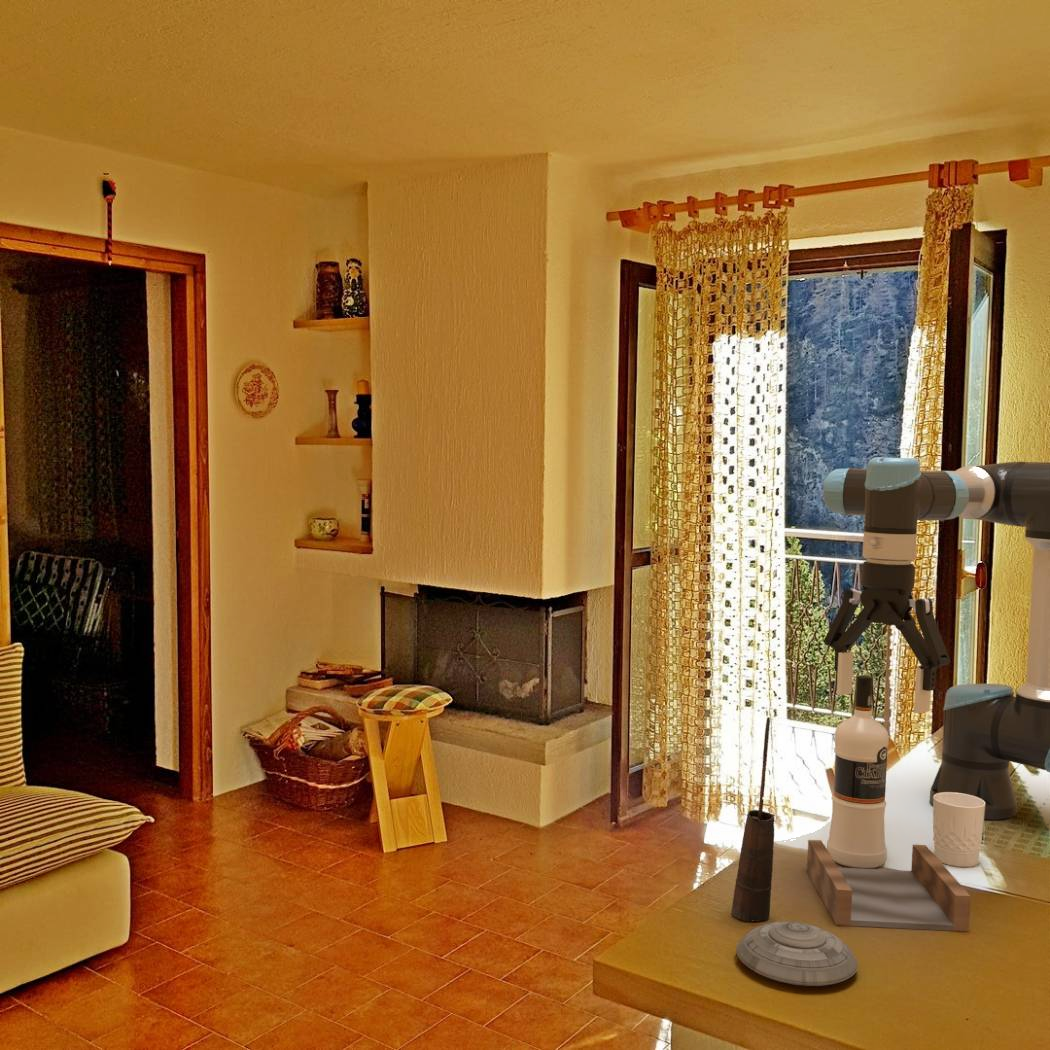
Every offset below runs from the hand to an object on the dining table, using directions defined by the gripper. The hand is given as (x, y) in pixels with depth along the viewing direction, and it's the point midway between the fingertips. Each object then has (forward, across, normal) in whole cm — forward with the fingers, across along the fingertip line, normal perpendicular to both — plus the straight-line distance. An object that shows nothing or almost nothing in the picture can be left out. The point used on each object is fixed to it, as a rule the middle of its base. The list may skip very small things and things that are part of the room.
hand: (881, 702), depth 167 cm
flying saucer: (+28, +11, -31) cm, 43 cm away
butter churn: (+28, -2, -25) cm, 38 cm away
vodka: (+28, -8, +7) cm, 30 cm away
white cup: (+28, +1, +21) cm, 35 cm away
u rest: (+28, +4, -3) cm, 28 cm away
